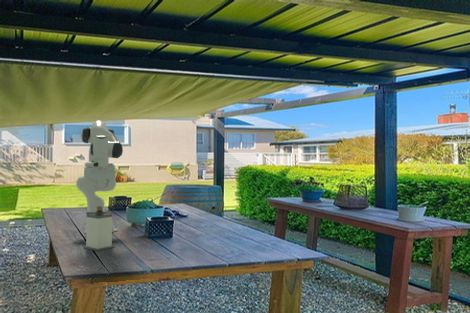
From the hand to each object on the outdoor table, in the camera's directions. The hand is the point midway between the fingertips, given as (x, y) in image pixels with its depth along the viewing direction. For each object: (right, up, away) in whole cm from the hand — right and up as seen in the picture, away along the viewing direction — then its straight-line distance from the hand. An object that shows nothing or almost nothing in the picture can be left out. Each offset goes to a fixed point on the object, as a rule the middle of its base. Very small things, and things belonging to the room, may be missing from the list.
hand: (100, 187), depth 252 cm
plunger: (0, -30, -1) cm, 30 cm away
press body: (0, -35, -1) cm, 35 cm away
